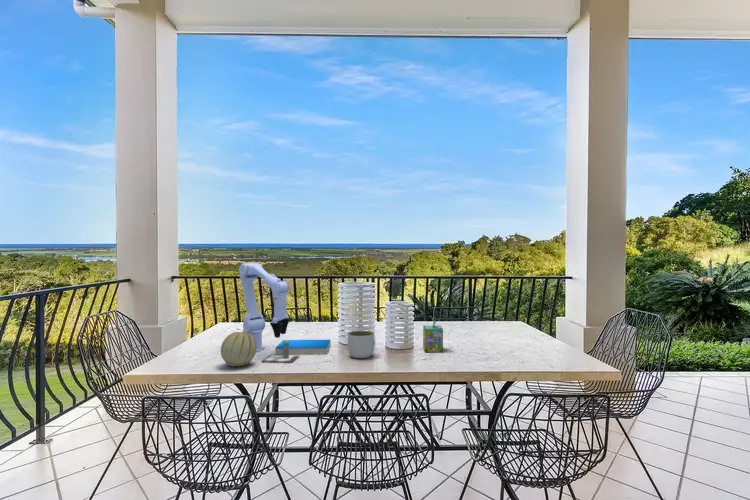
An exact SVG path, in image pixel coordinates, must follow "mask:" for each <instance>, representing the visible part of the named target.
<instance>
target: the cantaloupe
mask: <svg viewBox="0 0 750 500" xmlns="http://www.w3.org/2000/svg"><path fill="white" fill-rule="evenodd" d="M256 348H257V347H256V342H255V340H254V338H253V337H252V336H251V335H249V334H247V333H245V331H244V329H243V330H242V331H241V332H240V331H235V332H232V333H230V334H229V335H227V336H226V337H225V338H224V339H223V341H222V342H221V346H220V356H221V358H222V359H223V361H224V362H225V363H226V364H228V365H230V366H231V367H243V366H245V365H247V364H249V363H250V362H252V360H253V359H254V358H255V356H256V353H257V351H256Z"/></svg>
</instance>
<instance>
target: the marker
mask: <svg viewBox="0 0 750 500" xmlns="http://www.w3.org/2000/svg"><path fill="white" fill-rule="evenodd" d="M289 340H290V339H283V340H282V341H283V358H284V359H288V358H289V356H290V355H289Z"/></svg>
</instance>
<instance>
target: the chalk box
mask: <svg viewBox="0 0 750 500" xmlns="http://www.w3.org/2000/svg"><path fill="white" fill-rule="evenodd" d="M436 323H437V321H436V320H435V319H434V320H433V323H432V325H423V328H422V329H423V330H422V336H423V337H422V338H423V339H422V348H423V351H424V353H444V328H443V326H441V325H436Z"/></svg>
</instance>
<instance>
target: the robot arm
mask: <svg viewBox="0 0 750 500" xmlns="http://www.w3.org/2000/svg"><path fill="white" fill-rule="evenodd" d="M238 274H239V280H240V282H241V286H242V290H243V291H242V292H243V298H244V301H245V308H246V315H245V316H244V317H243V318H242V320H243V324H242V329H243V330H244V331H245V333H247V334H249V335H251V336H252V337H253V338H254V340H255V342H256V347H257V348H256V352H260V351H262V350H263V349H265V348H266V347H265V346H263V339H262V338H263V334H262V333H263V332H264V329H265V328H266V321H265V319H264V315H263V314H262V313H260V312H259V309H258V303H257V299H256V294H255V288H254V281H255V280H256V279H258V277H259V278H261V279H262V280H263V283H264V284H265V285H266V286H268V287H269V288H270V290H271V292H272V297H273V318H272V321H271V322H270V323H269V324H270V326H271V328H272V331H273V336H274V338H277V339H278V338H280V337H281V335H286V333H287V329H288V326H289V324H290V321H291V318H290V316H289V315H288V313H287V293H289V290H290V285H289V282H287V281H286V280H281V278H278V277H277V276H276V274H274V273H268V271H266V269H264V268H263V265H262V264H260V262H254V263H253V262H252V263H249V262H248V263H245V262H243V263H241V264H240V266H239V269H238Z"/></svg>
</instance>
